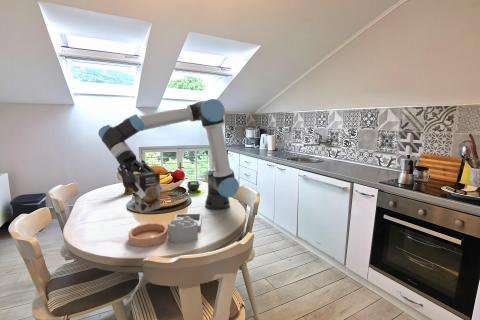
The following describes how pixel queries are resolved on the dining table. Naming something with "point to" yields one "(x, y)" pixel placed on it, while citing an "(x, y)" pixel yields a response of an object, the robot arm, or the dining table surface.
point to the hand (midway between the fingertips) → (152, 193)
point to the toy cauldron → (194, 188)
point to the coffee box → (148, 191)
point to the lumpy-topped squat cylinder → (183, 229)
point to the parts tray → (192, 217)
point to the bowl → (148, 234)
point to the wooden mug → (127, 188)
